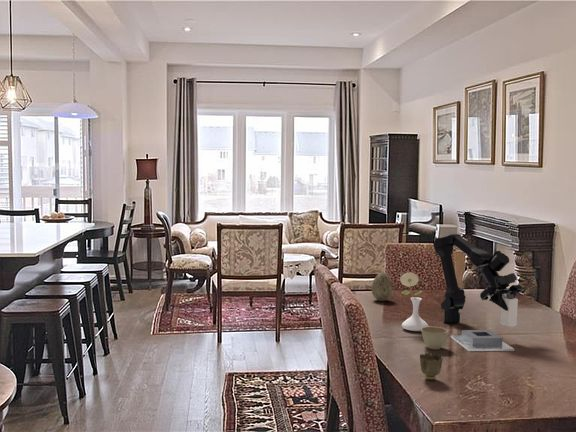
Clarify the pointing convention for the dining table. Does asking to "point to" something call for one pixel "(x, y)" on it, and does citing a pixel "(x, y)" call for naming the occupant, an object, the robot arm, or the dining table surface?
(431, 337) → the flower pot
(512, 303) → the plug
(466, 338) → the grey square frame
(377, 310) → the dining table surface
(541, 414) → the dining table surface
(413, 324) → the flower in vase
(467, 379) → the dining table surface
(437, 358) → the cup
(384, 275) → the decorative egg
